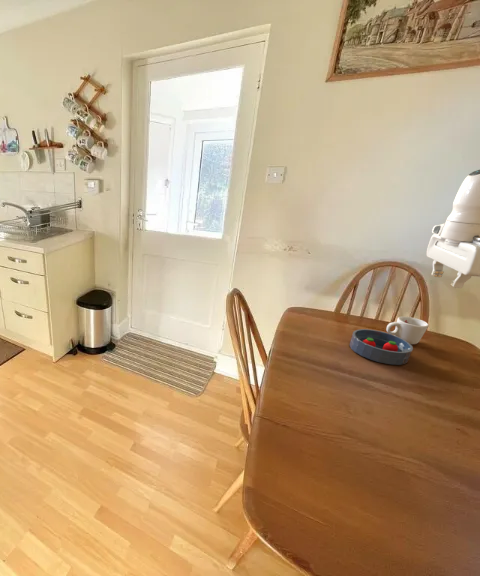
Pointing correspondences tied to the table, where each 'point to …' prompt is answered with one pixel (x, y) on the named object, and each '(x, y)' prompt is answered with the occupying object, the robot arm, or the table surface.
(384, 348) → the strawberry
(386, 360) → the bowl
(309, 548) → the table surface
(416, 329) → the cup
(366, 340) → the strawberry
